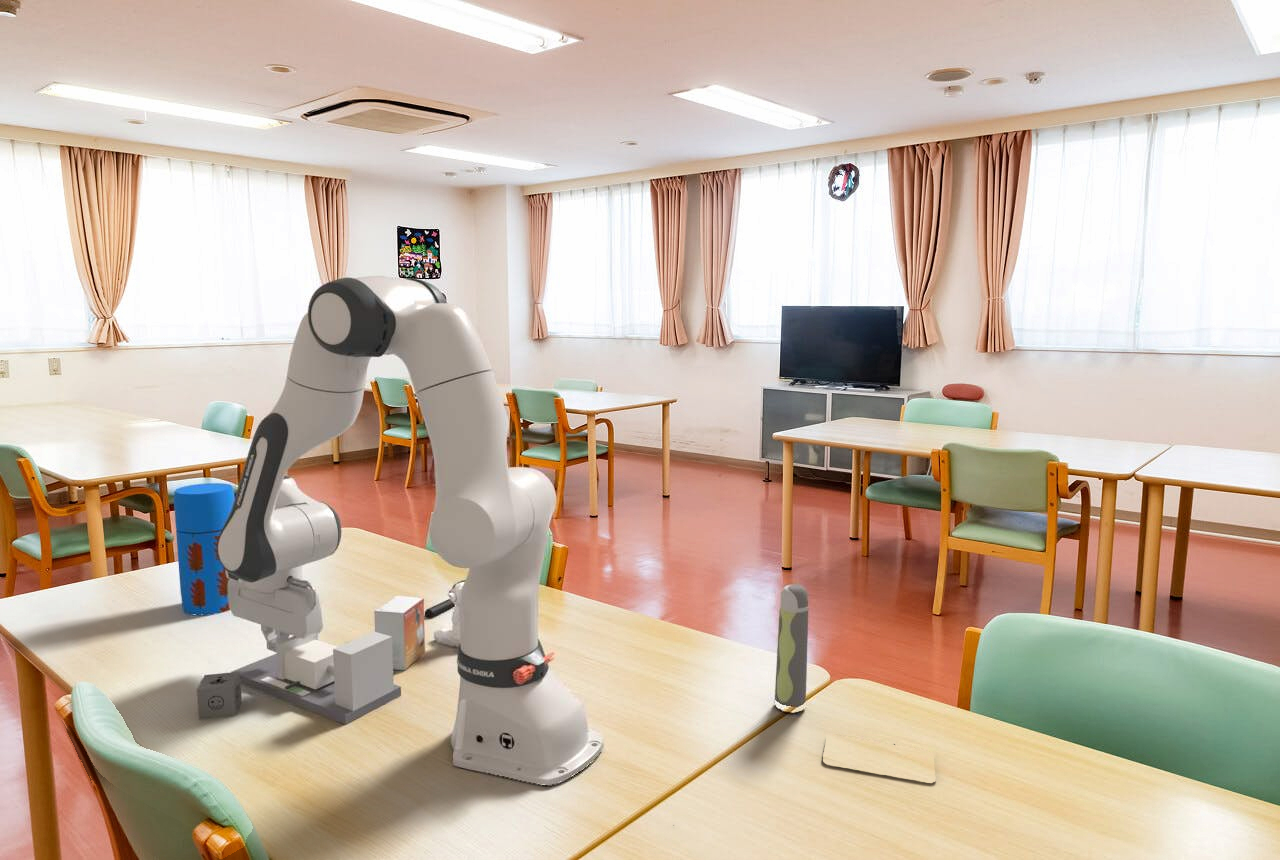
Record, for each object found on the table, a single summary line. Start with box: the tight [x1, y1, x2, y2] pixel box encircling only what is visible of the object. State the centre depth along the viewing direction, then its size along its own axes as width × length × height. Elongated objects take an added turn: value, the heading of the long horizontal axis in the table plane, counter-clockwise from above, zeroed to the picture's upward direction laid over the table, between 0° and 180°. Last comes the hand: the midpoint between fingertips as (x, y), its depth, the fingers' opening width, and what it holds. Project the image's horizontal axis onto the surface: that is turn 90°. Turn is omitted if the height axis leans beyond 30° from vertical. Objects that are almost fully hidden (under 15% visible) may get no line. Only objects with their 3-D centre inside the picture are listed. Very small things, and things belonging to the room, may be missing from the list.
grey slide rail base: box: [231, 631, 402, 725], centre depth 133 cm, size 28×11×10 cm, turn 60°
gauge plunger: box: [276, 634, 338, 689], centre depth 132 cm, size 12×9×6 cm
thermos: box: [173, 482, 235, 616], centre depth 168 cm, size 11×11×25 cm
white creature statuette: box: [433, 582, 464, 649], centre depth 152 cm, size 10×9×12 cm
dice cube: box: [196, 671, 242, 721], centre depth 126 cm, size 5×5×5 cm
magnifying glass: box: [424, 579, 466, 619], centre depth 176 cm, size 12×24×2 cm, turn 155°
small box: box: [373, 595, 426, 671], centre depth 144 cm, size 8×6×10 cm
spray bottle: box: [774, 583, 809, 707], centre depth 128 cm, size 5×5×20 cm
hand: (277, 650), depth 138 cm, fingers closed
